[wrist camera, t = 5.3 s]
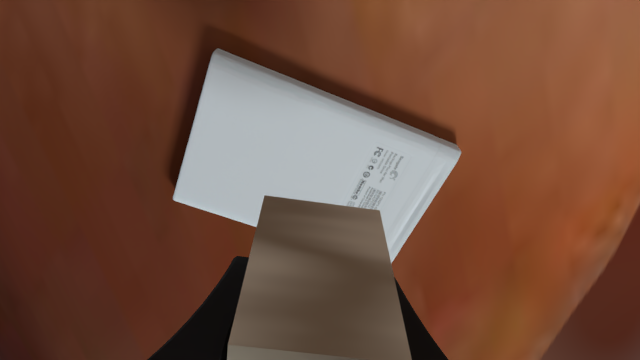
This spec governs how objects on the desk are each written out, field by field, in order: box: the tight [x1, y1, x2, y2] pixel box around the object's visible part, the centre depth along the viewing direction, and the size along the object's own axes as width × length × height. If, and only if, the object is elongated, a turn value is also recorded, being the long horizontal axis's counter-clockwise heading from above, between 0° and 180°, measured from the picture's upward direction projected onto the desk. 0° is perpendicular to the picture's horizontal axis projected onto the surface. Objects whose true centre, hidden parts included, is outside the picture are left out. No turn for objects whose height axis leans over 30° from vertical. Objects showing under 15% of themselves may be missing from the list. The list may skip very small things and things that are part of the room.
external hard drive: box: [173, 48, 461, 263], centre depth 21 cm, size 2×8×12 cm
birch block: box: [227, 195, 412, 360], centre depth 12 cm, size 4×4×6 cm
